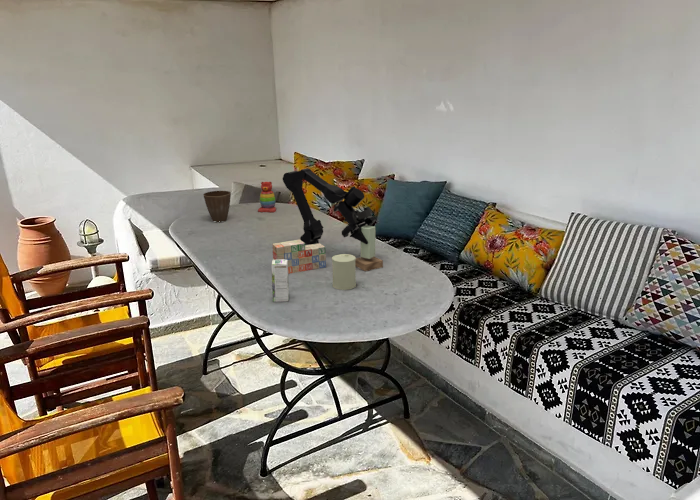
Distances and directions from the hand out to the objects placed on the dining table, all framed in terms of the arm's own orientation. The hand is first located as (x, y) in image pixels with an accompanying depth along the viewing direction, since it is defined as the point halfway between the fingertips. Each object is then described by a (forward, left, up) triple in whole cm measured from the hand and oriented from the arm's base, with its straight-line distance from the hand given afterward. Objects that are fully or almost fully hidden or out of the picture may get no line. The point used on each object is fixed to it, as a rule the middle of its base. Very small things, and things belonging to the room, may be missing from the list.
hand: (370, 242), depth 222 cm
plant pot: (-29, +111, -11) cm, 115 cm away
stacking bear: (+4, +118, -11) cm, 119 cm away
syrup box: (-47, -10, -11) cm, 49 cm away
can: (-21, -12, -11) cm, 26 cm away
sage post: (-1, +1, -7) cm, 7 cm away
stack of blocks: (-26, +15, -11) cm, 32 cm away
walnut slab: (-1, +1, -11) cm, 11 cm away
